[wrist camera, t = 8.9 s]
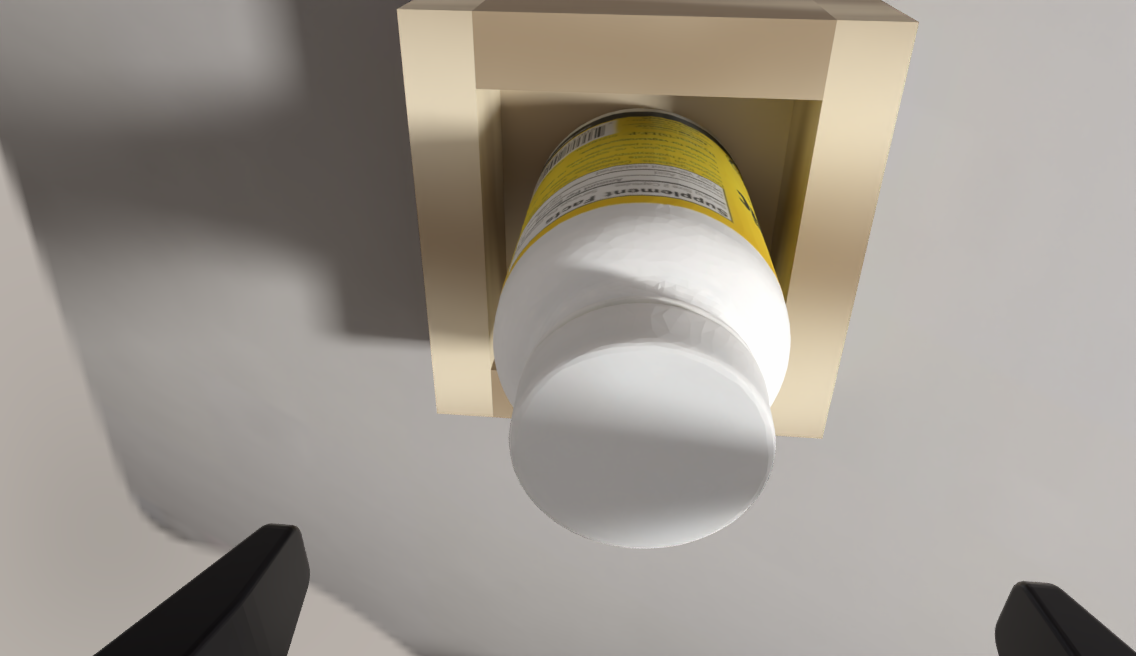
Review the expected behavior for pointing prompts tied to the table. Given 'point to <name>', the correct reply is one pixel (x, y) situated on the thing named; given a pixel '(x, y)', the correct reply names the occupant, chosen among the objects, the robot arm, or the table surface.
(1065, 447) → the table surface
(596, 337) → the supplement bottle
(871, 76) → the square holder
